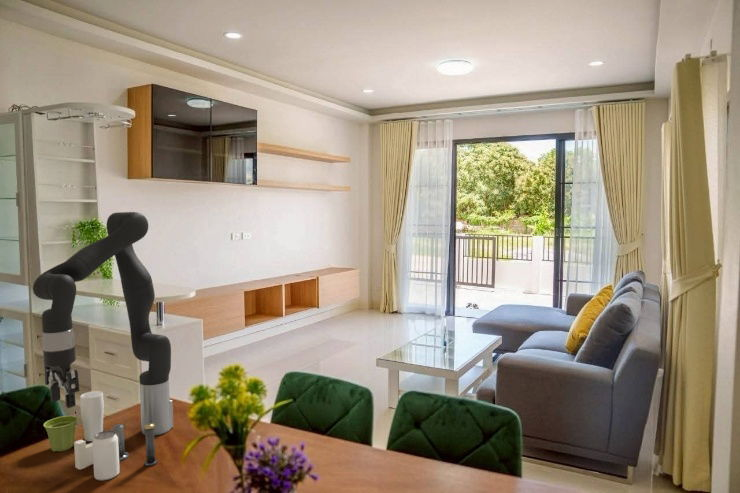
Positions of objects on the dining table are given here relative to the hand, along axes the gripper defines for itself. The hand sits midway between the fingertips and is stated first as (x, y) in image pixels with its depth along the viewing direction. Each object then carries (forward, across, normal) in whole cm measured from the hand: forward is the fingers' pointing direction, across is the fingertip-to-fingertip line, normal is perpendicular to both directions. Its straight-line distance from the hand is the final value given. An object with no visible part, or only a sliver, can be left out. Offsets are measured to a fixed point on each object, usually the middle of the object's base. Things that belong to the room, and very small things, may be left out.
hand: (63, 403), depth 144 cm
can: (+22, -7, -7) cm, 24 cm away
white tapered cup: (+23, +21, -18) cm, 35 cm away
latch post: (+22, -11, -18) cm, 31 cm away
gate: (+20, 0, -8) cm, 22 cm away
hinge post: (+22, +1, -15) cm, 27 cm away
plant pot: (+22, +22, -9) cm, 33 cm away
